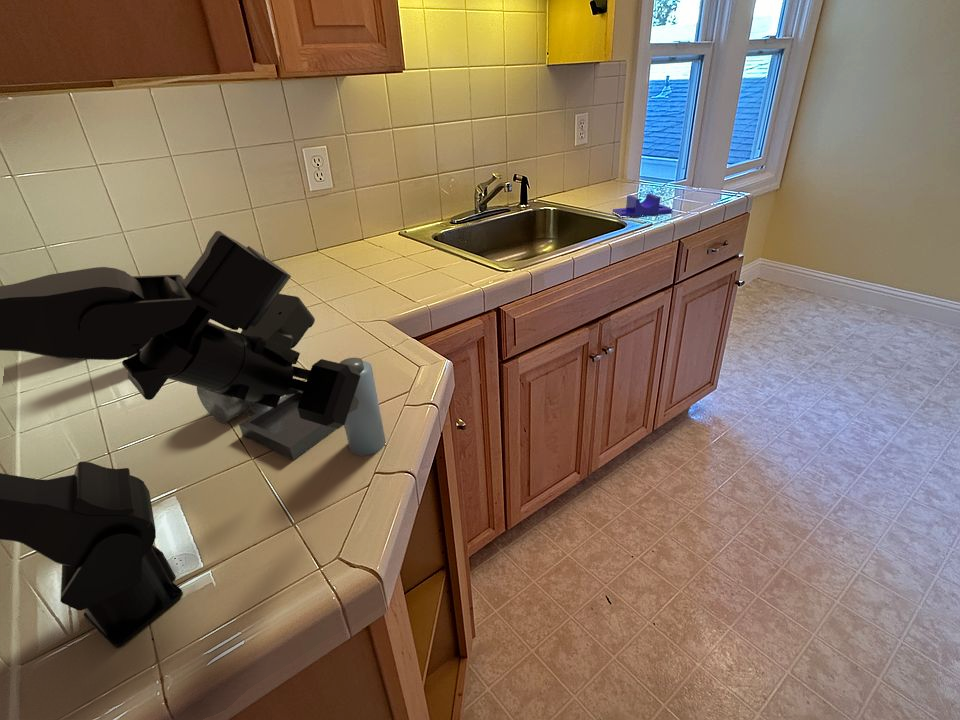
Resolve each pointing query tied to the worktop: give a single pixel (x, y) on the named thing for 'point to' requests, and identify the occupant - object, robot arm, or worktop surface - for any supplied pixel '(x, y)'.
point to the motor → (268, 422)
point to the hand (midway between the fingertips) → (326, 396)
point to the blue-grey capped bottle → (364, 413)
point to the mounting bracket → (643, 206)
